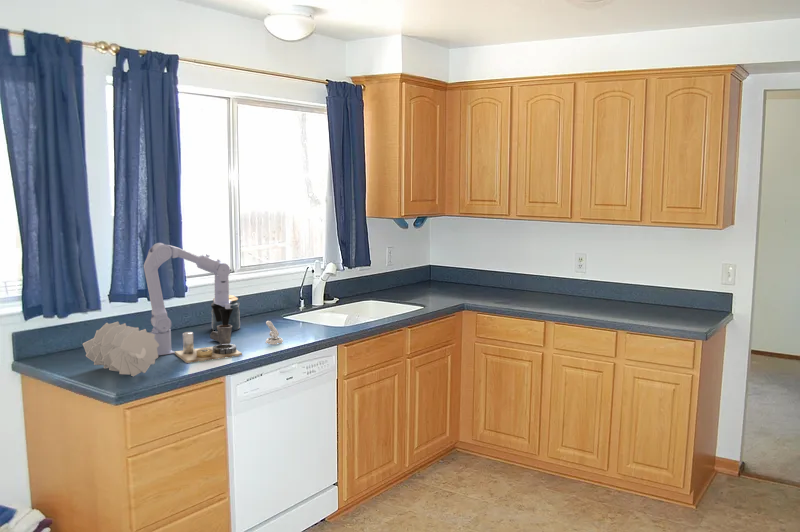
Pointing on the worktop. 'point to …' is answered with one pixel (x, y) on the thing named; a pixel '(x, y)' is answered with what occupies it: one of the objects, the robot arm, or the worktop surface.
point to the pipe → (222, 334)
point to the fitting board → (193, 358)
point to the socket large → (224, 348)
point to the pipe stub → (188, 343)
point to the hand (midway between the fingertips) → (222, 323)
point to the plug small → (204, 353)
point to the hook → (273, 334)
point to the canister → (234, 316)
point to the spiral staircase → (122, 348)
